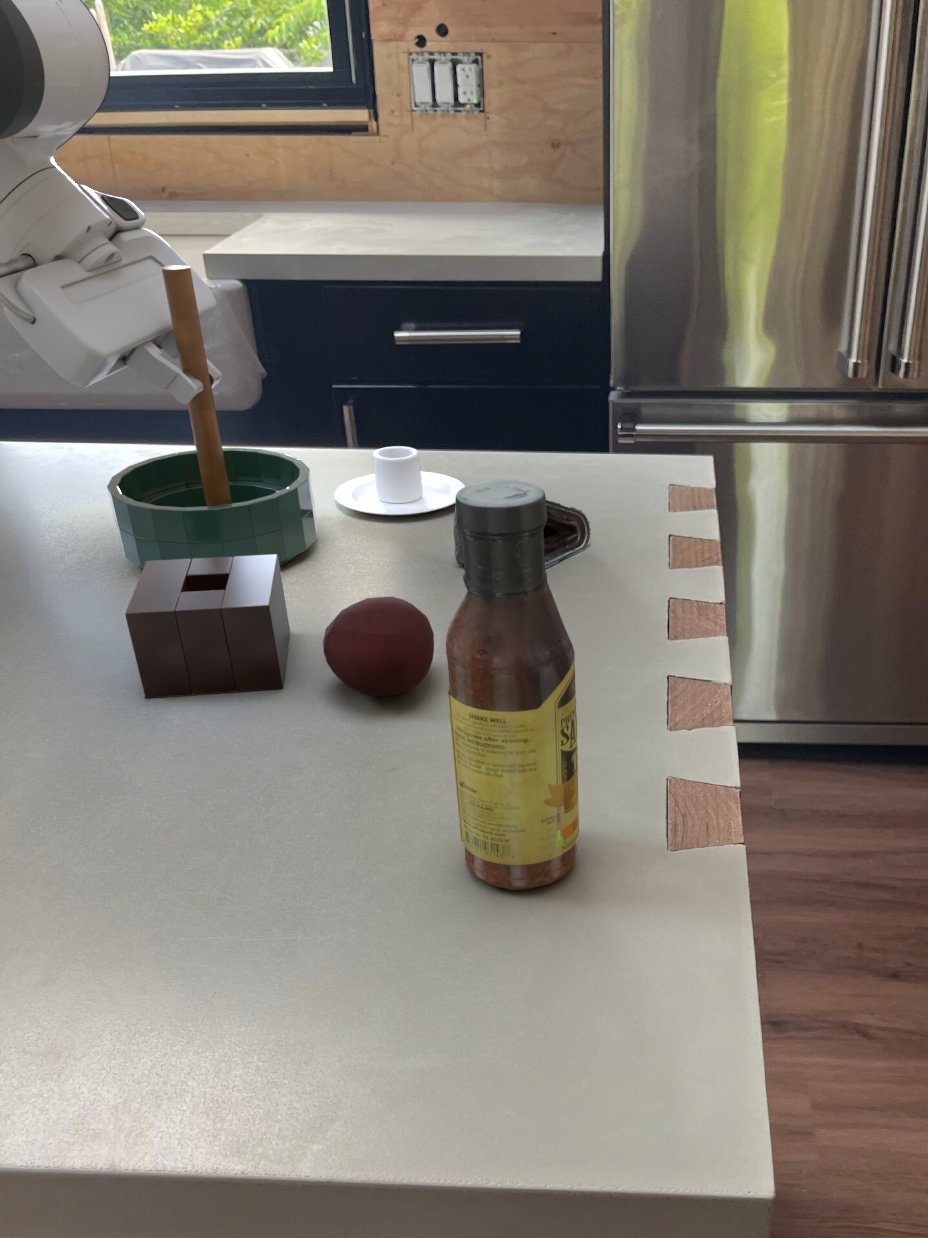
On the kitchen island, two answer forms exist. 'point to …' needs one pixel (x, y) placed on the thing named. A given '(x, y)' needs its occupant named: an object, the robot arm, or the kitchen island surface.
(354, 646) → the potato
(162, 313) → the robot arm
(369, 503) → the candle holder
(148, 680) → the stick holder
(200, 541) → the bowl
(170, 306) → the stirring stick
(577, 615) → the kitchen island surface
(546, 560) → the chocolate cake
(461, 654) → the sauce bottle
